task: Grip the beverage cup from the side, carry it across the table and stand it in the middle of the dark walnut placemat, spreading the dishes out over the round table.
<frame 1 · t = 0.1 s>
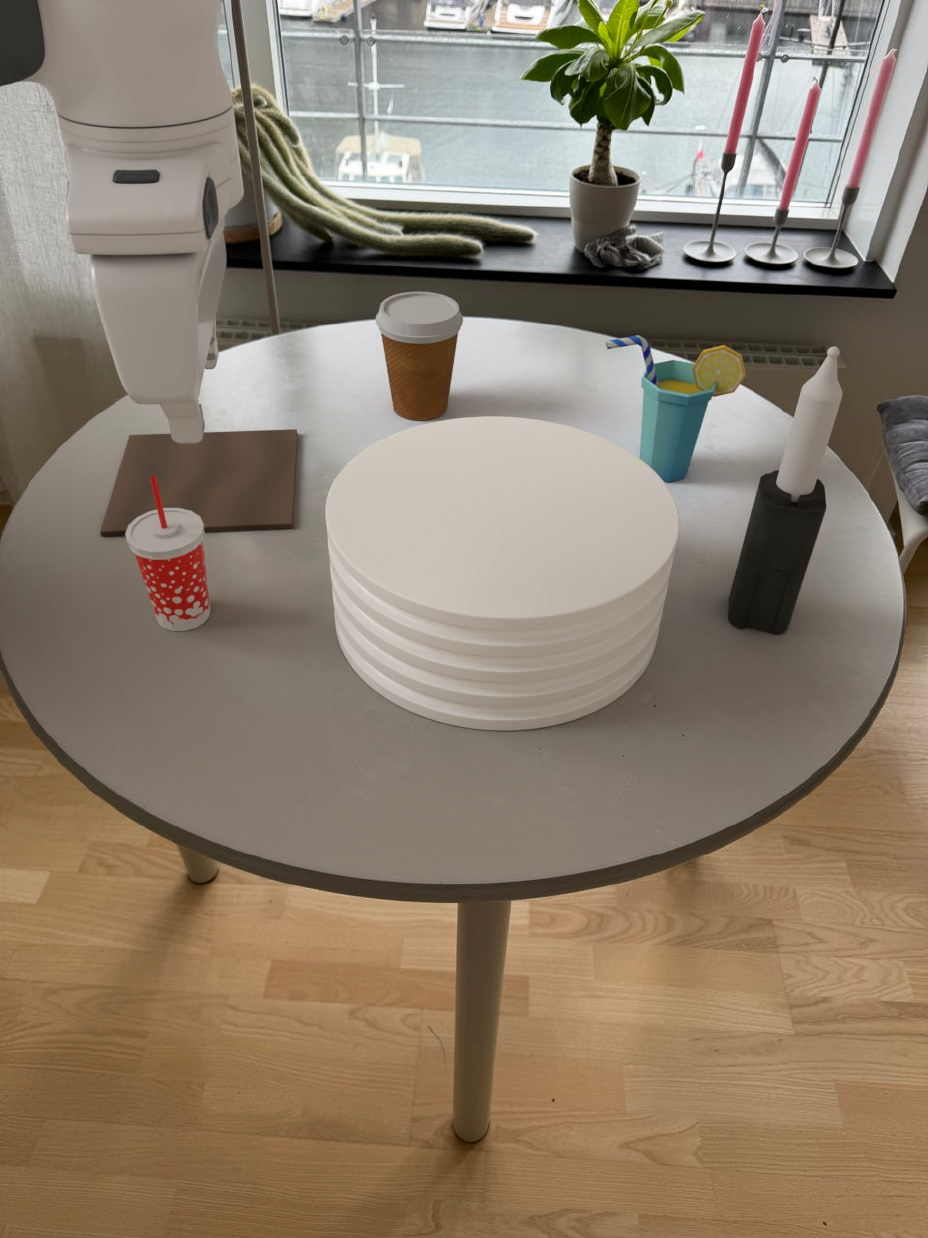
hand: (197, 398, 61), 25 cm above the table, tool pointing down, fingers open, 8 cm apart
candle: (757, 615, 85), on the table
plate stack: (496, 614, 85), on the table
placemat: (206, 481, 99), on the table
beverage cup: (184, 615, 84), on the table
cup: (655, 470, 103), on the table
disposable coffee cup: (420, 408, 112), on the table
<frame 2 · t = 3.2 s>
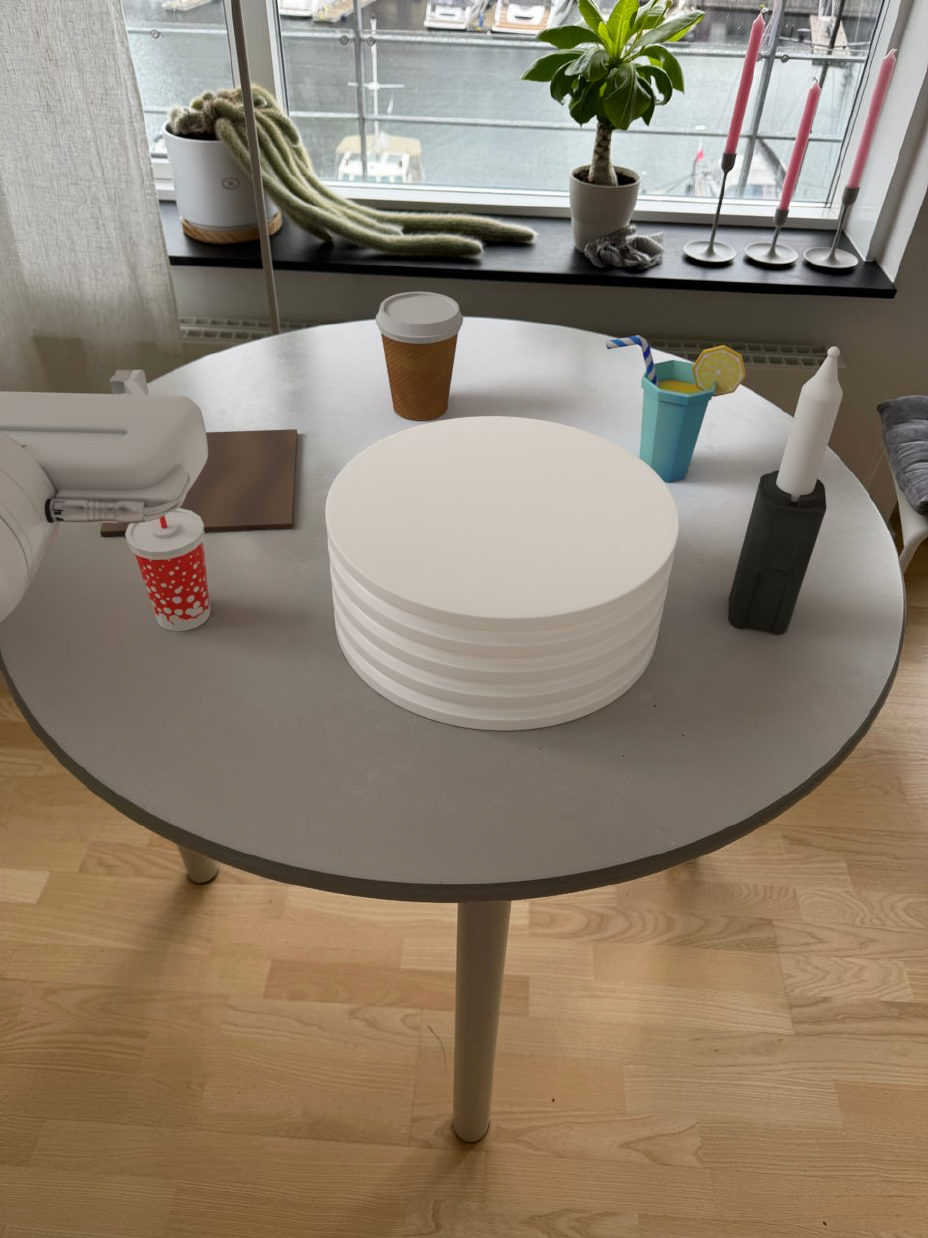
hand: (52, 378, 56), 28 cm above the table, tool horizontal, fingers open, 8 cm apart
nothing on the table moved.
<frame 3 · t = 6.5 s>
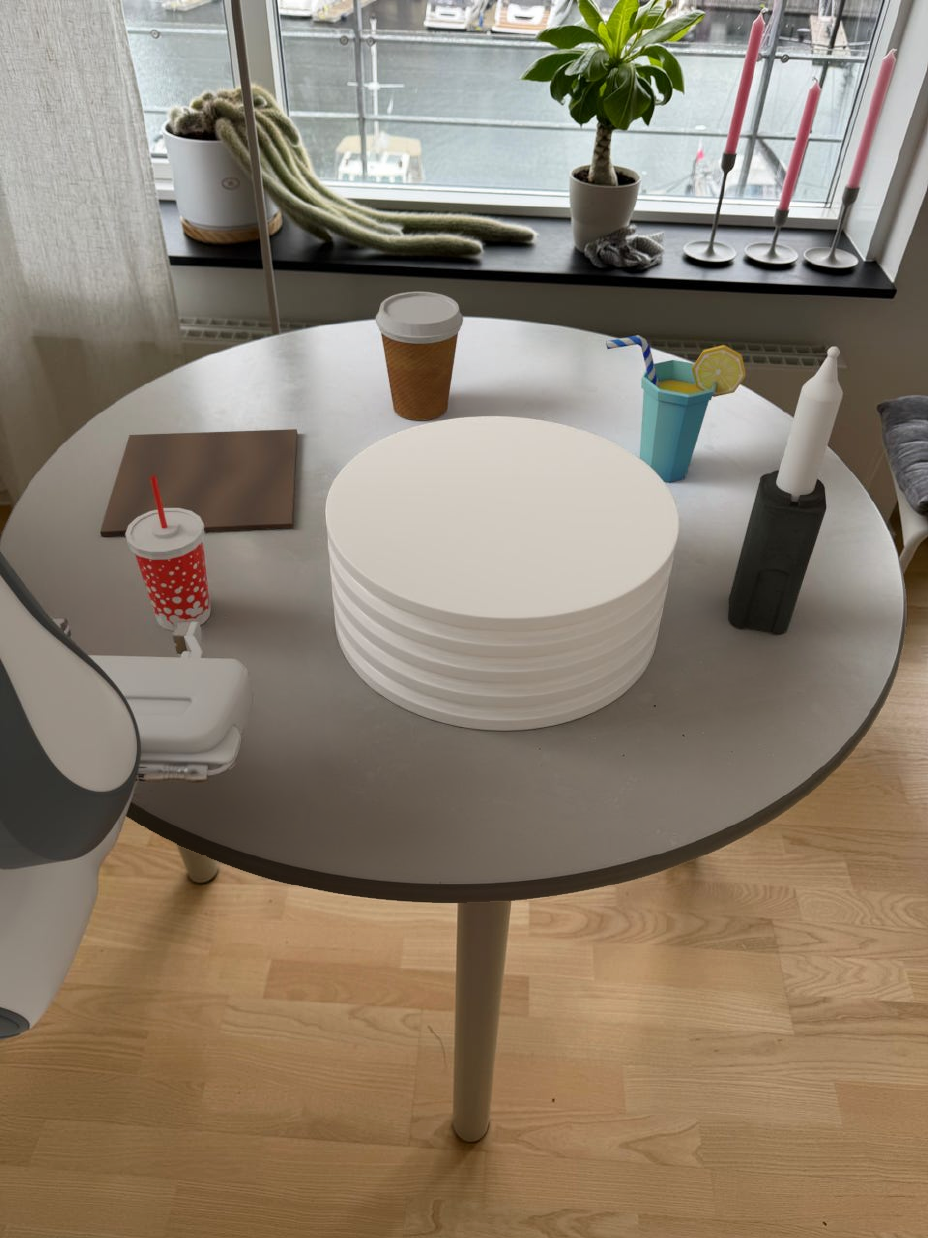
hand: (124, 626, 69), 9 cm above the table, tool horizontal, fingers open, 8 cm apart
nothing on the table moved.
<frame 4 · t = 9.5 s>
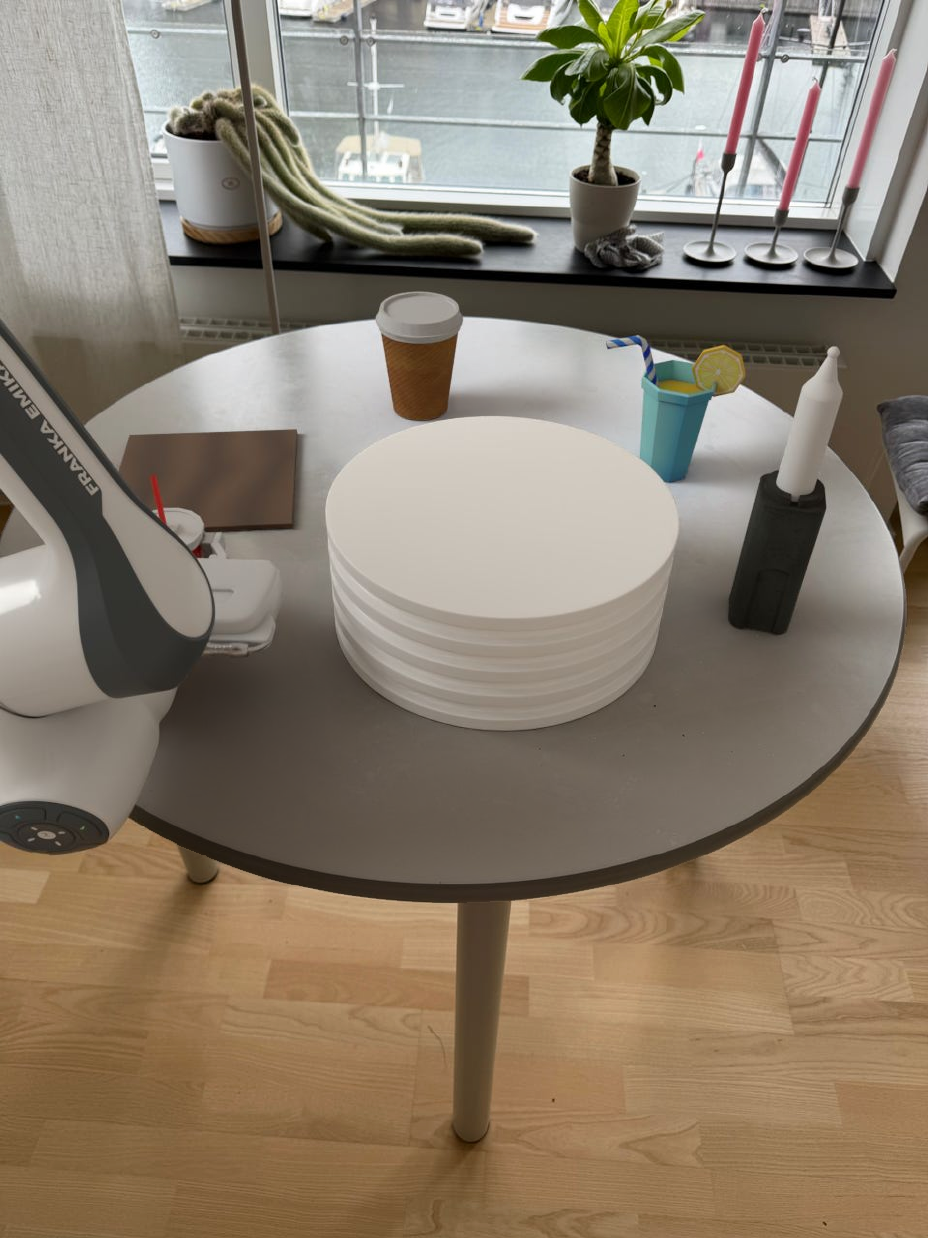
hand: (170, 537, 79), 8 cm above the table, tool horizontal, fingers closed on beverage cup, 6 cm apart
beverage cup: (184, 615, 84), on the table, touching gripper
everything else where it was.
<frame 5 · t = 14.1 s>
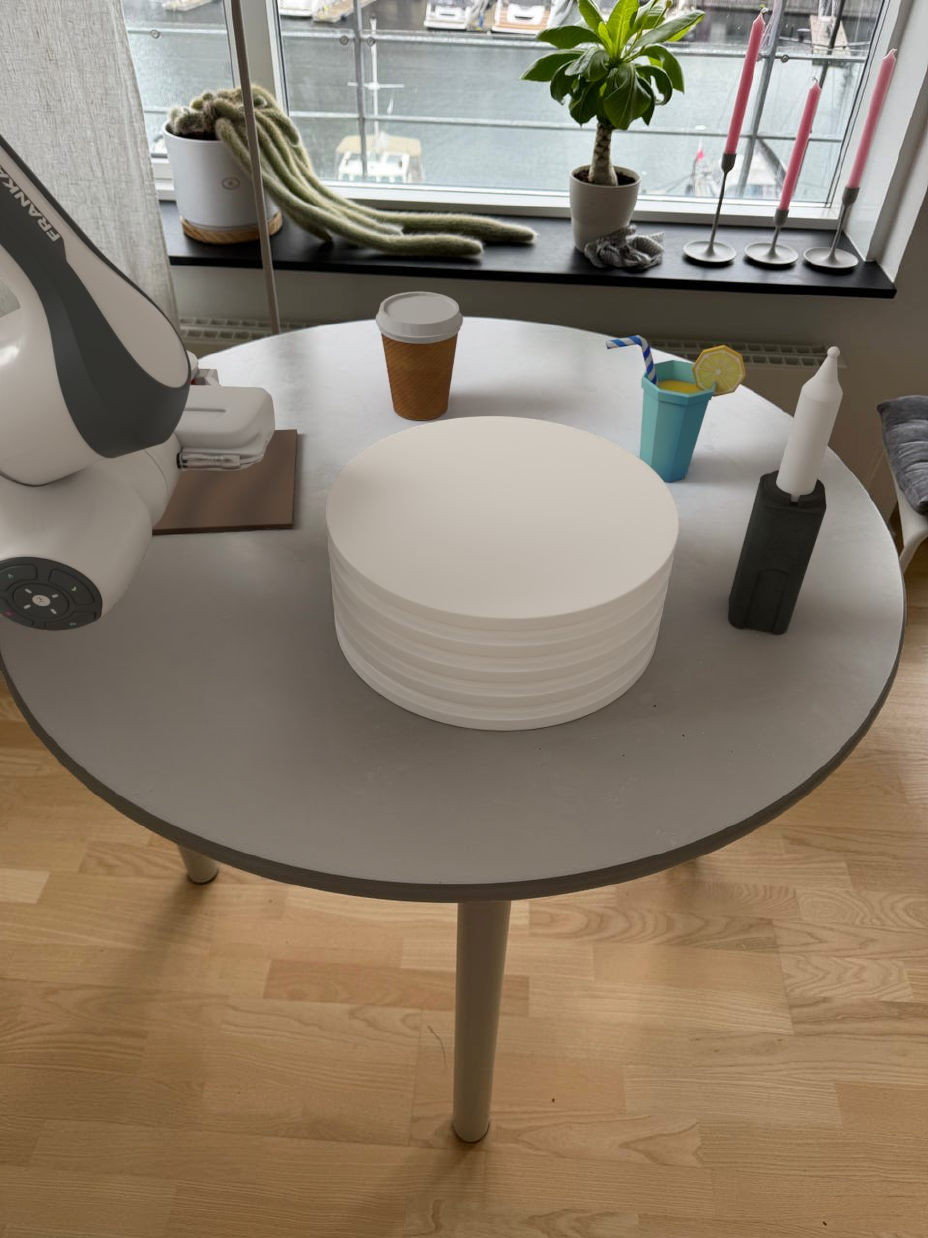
hand: (165, 375, 81), 17 cm above the table, tool horizontal, fingers closed on beverage cup, 6 cm apart
beverage cup: (178, 460, 85), point 9 cm above the table, touching gripper
everything else where it was.
when the fingers open (8 cm above the table, at t = 19.0 s): beverage cup stays where it is, resting on placemat.
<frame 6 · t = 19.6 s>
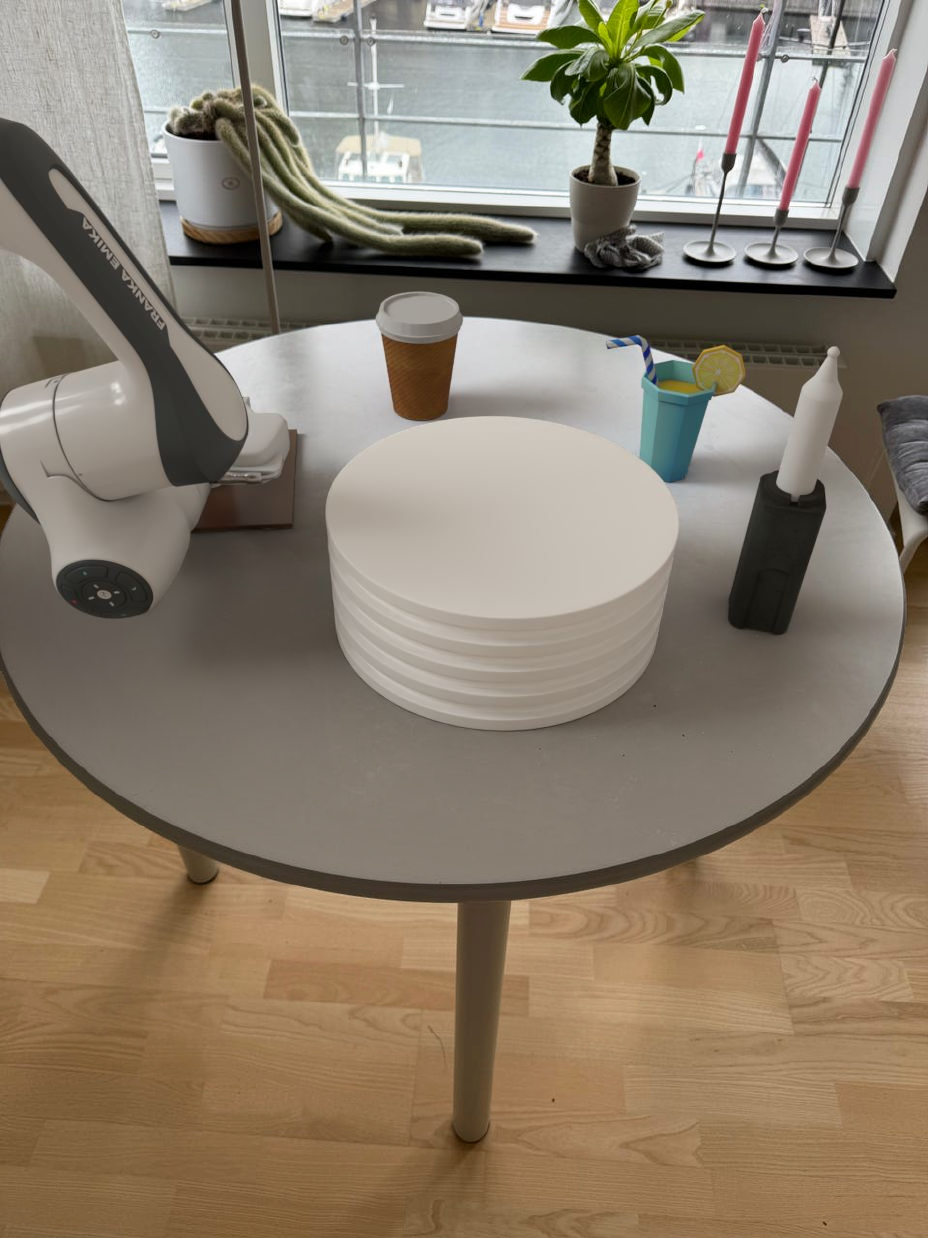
hand: (194, 401, 94), 9 cm above the table, tool horizontal, fingers open, 8 cm apart
beverage cup: (207, 478, 99), resting on placemat
everything else where it was.
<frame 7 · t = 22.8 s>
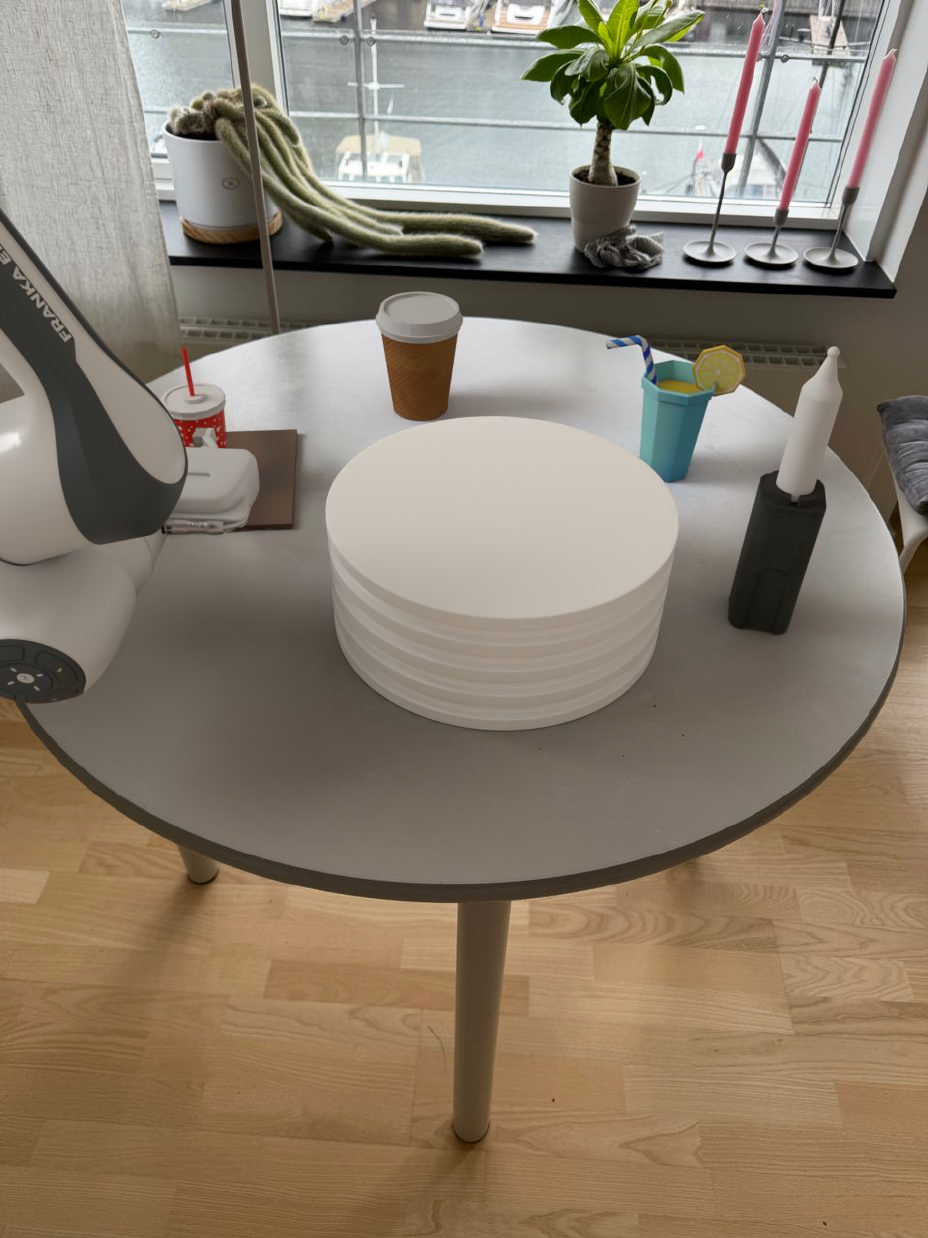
hand: (151, 432, 82), 13 cm above the table, tool horizontal, fingers open, 8 cm apart
nothing on the table moved.
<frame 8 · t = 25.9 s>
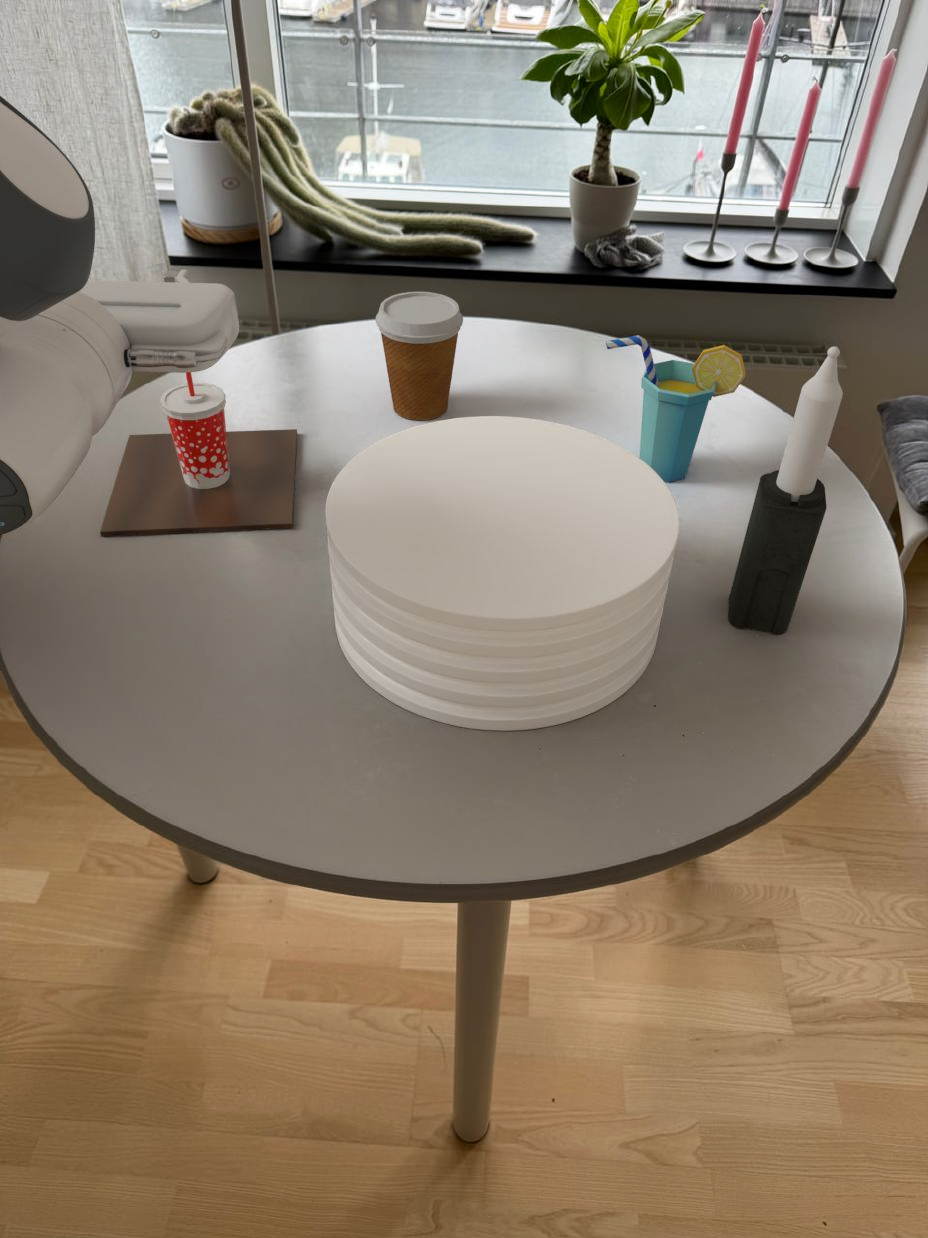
hand: (118, 277, 73), 26 cm above the table, tool horizontal, fingers open, 8 cm apart
nothing on the table moved.
at the end: beverage cup inside the target area on the placemat (0.1 cm from its centre), point 0.4 cm above the placemat's base; beverage cup tilted 0°; beverage cup moved 20.9 cm from its start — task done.
